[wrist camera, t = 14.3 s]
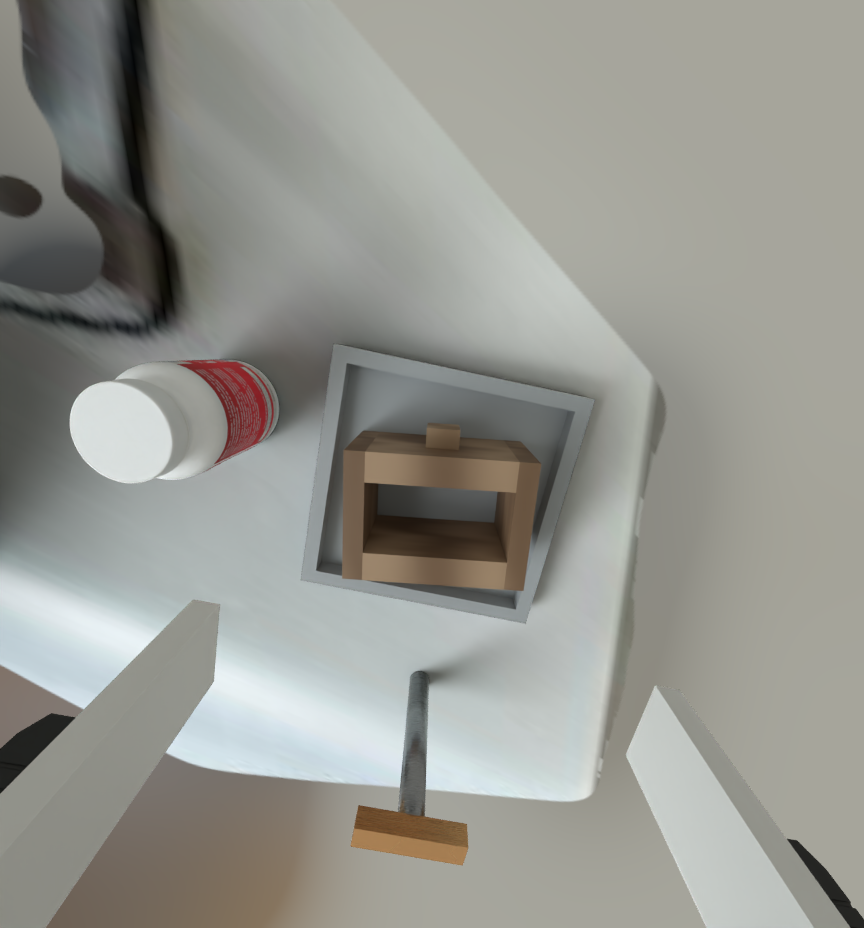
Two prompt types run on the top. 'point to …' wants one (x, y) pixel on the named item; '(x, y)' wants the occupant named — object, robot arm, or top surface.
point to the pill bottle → (172, 418)
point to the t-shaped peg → (412, 800)
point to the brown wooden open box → (438, 540)
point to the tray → (409, 411)
